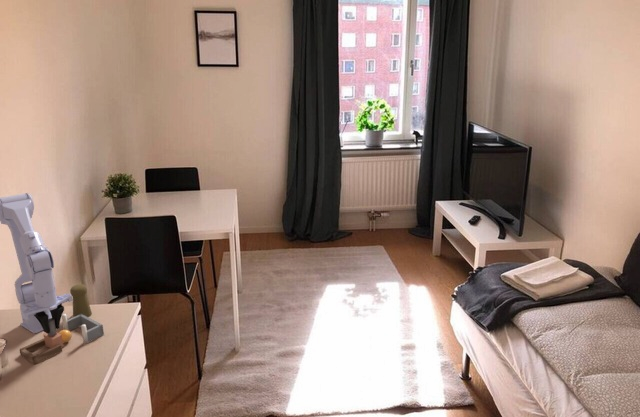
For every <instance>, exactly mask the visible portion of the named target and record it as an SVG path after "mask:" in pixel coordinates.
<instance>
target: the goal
mask: <svg viewBox="0 0 640 417" xmlns="http://www.w3.org/2000/svg"><path fill="white" fill-rule="evenodd" d="M61 321H62V327H63V330H69V331H70V332H71V331H73V330H74V329H76V328H79V327H80V328H81V334H82V341H83V344H85V345H86V344H88V343H90V342H92V341H94V340H96V339H97V338H99V337H102V336H105V332H104V325H103V324H101V322H98V321H95V319H91V318H90V317H86V316H85V315H83V314H80V315H77V316H75V317H73V316H72V317H71V318H69V319H68V318H67V314H66V313H62V316H61Z"/></svg>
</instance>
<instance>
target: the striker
mask: <svg viewBox="0 0 640 417" xmlns="http://www.w3.org/2000/svg"><path fill="white" fill-rule="evenodd" d="M48 324H49V329H50V333H48V334H47V333H46V332H44V333H43V338H44V340H45V345H46V346H45V347H47V348H48V349H50V348H52V347H54V346H56V345H58V344H60V345H61V346H62V348H63V347H64V343H63V340H62V335H61V334H59V332H57V329H56V326H55V320H54V319H53V318H50V319H48Z"/></svg>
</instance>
